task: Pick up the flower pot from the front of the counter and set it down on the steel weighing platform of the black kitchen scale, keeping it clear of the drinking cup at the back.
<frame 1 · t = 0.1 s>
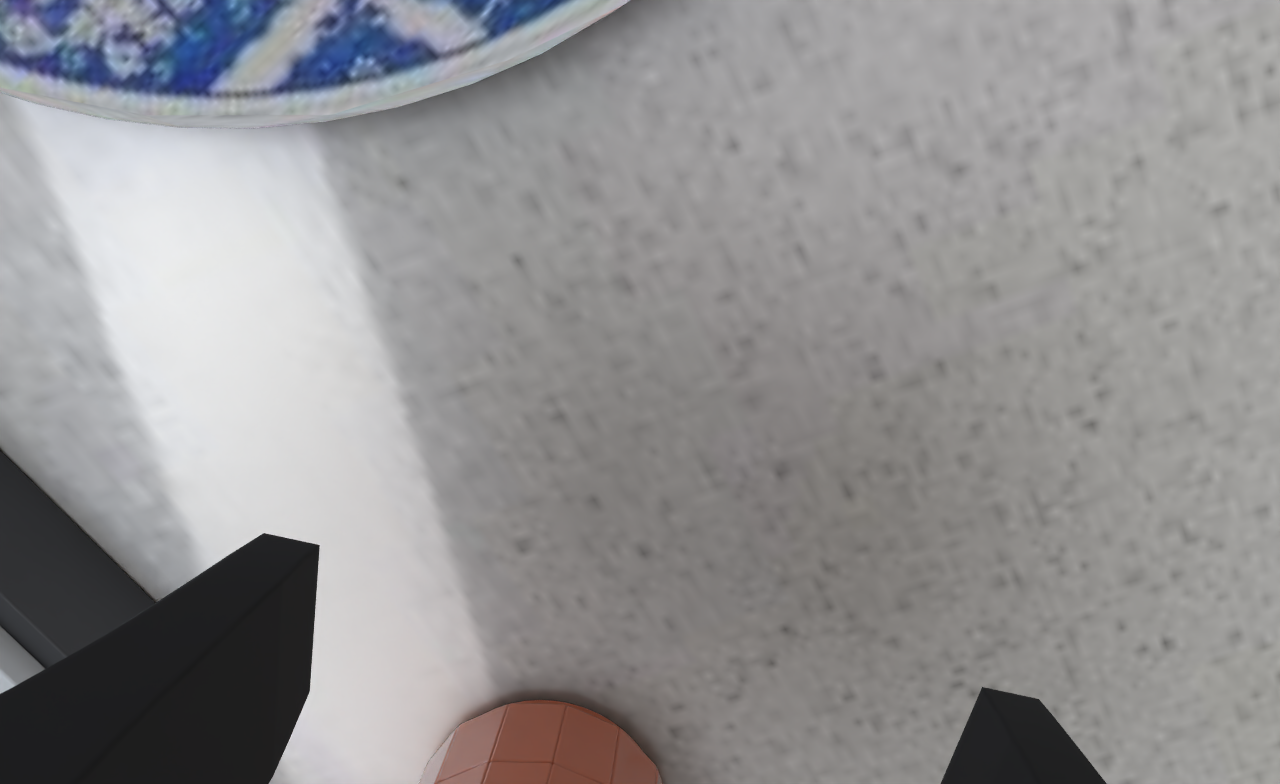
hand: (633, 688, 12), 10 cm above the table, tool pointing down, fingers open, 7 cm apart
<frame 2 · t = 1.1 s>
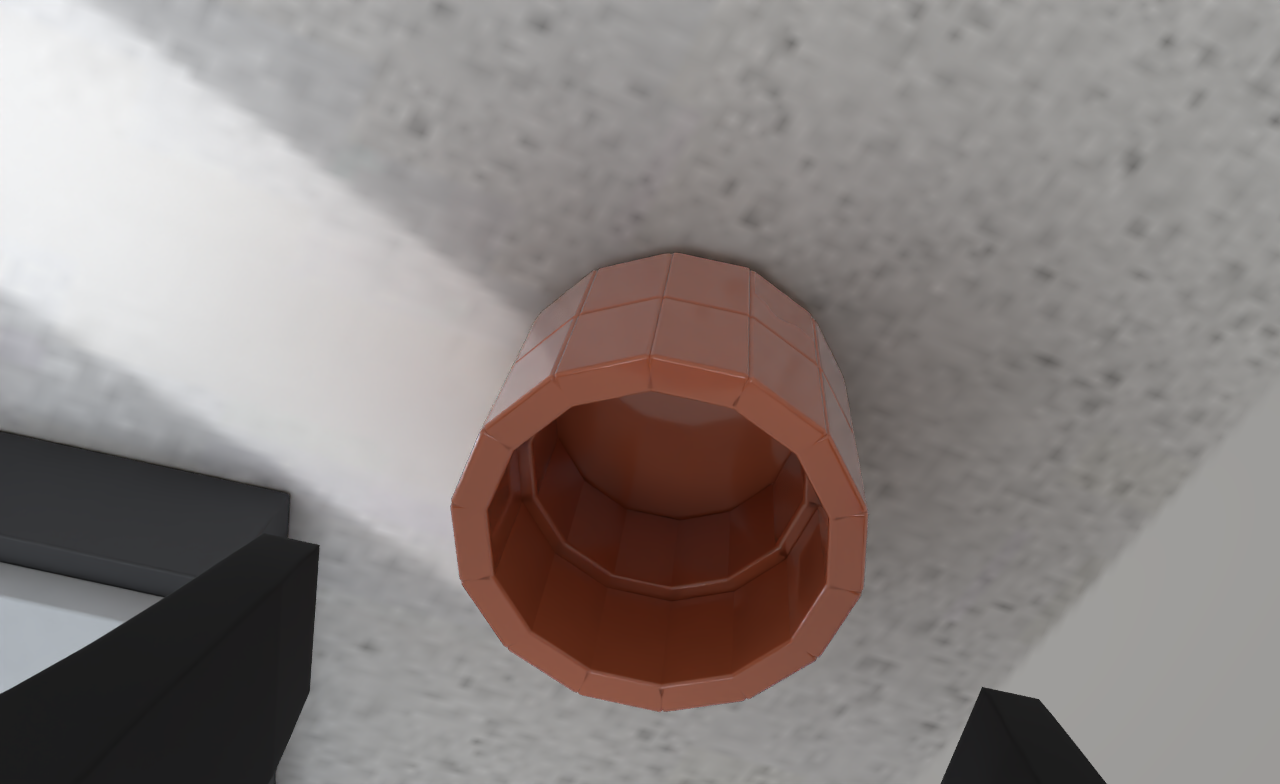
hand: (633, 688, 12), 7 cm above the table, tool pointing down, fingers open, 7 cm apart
flower pot: (678, 399, 18), on the table
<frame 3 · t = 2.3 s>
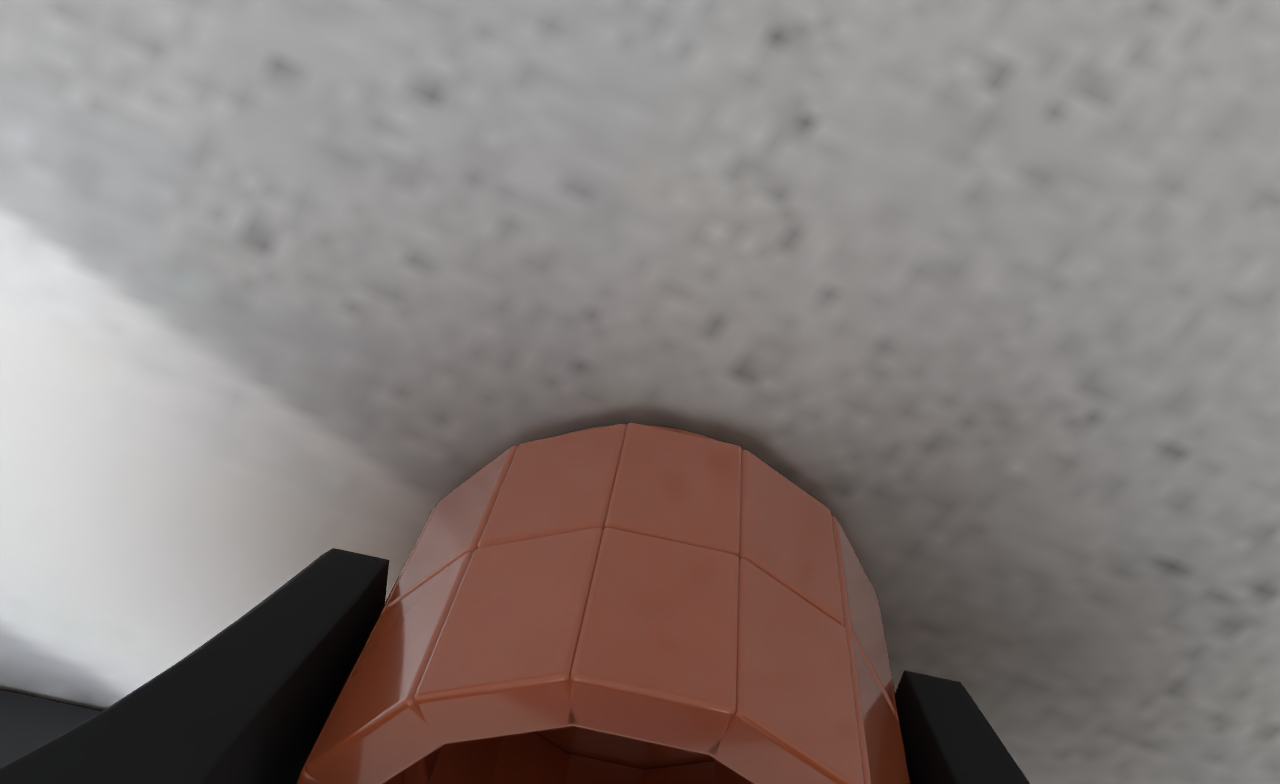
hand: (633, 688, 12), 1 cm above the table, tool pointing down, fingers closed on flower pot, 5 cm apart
flower pot: (641, 607, 13), on the table, touching gripper
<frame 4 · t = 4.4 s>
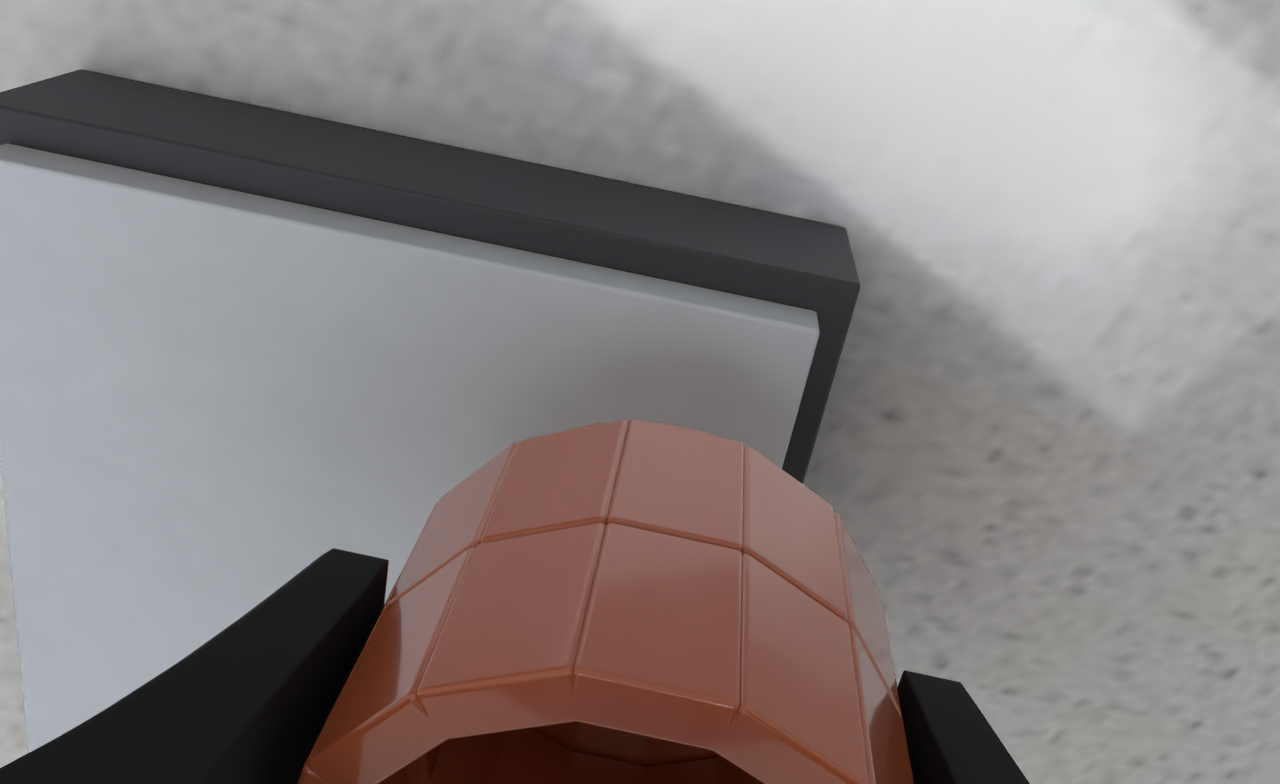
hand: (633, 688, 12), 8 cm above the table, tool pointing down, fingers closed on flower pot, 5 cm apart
scale: (425, 479, 21), on the table
flower pot: (643, 604, 13), point 7 cm above the table, touching gripper
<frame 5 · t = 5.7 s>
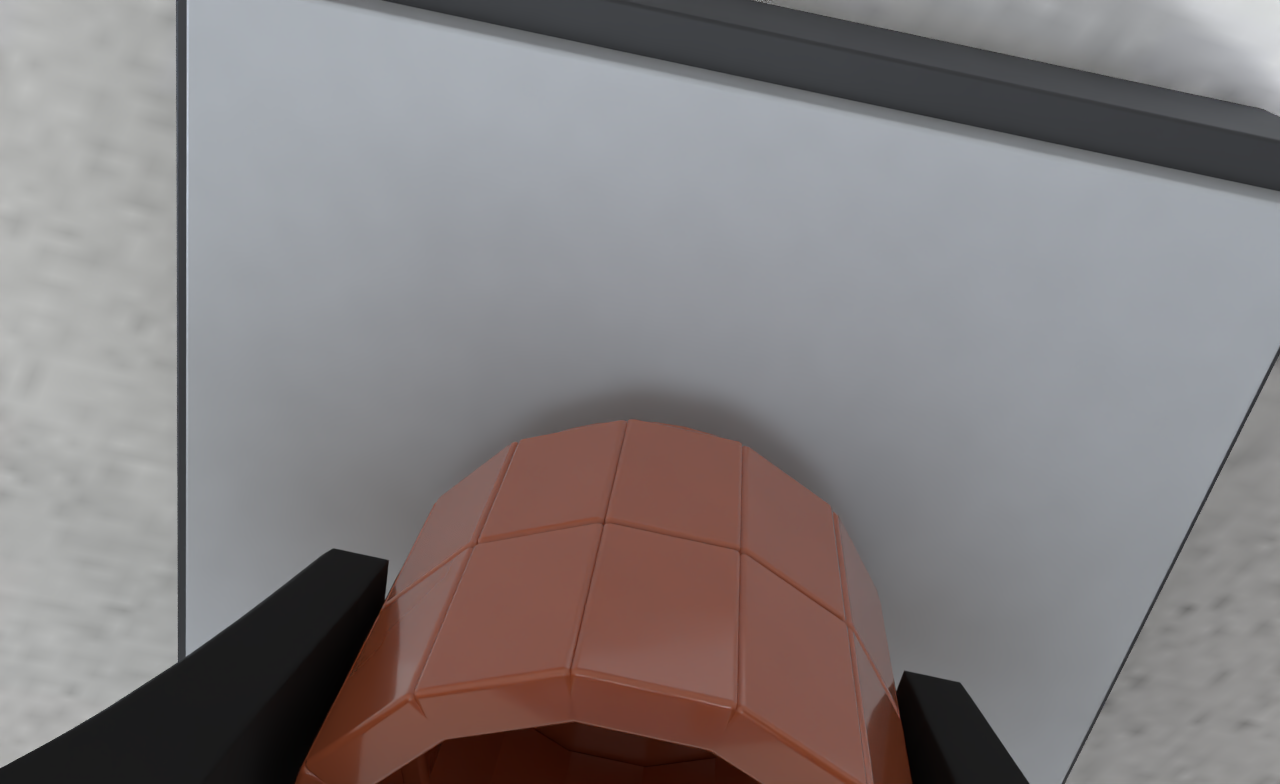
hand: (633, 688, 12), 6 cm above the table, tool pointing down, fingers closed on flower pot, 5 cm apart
scale: (670, 437, 17), on the table
flower pot: (641, 604, 13), point 4 cm above the table, touching gripper
when the fingers open (5 cm above the table, at t = 6.5 s): flower pot stays where it is, resting on scale.
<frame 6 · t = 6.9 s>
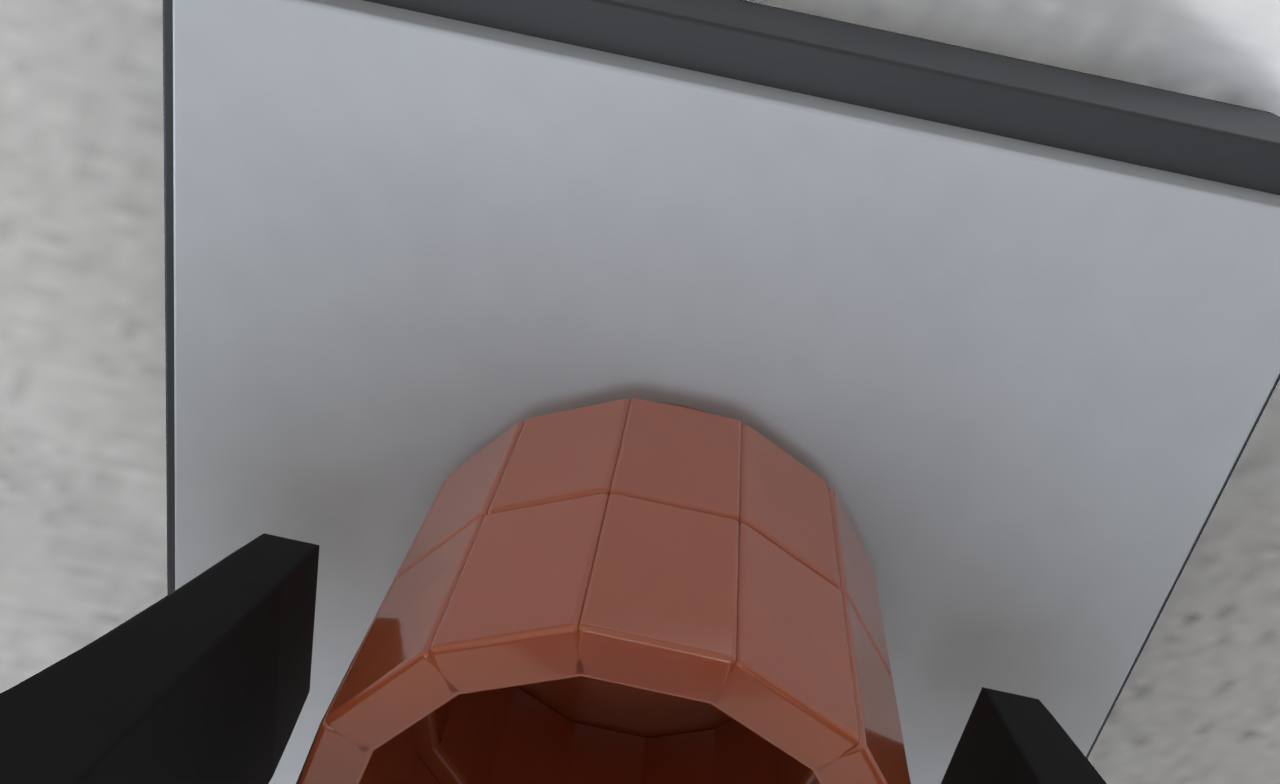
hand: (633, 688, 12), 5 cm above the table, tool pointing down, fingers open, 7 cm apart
scale: (668, 445, 17), on the table
flower pot: (644, 579, 13), point 4 cm above the table, touching scale
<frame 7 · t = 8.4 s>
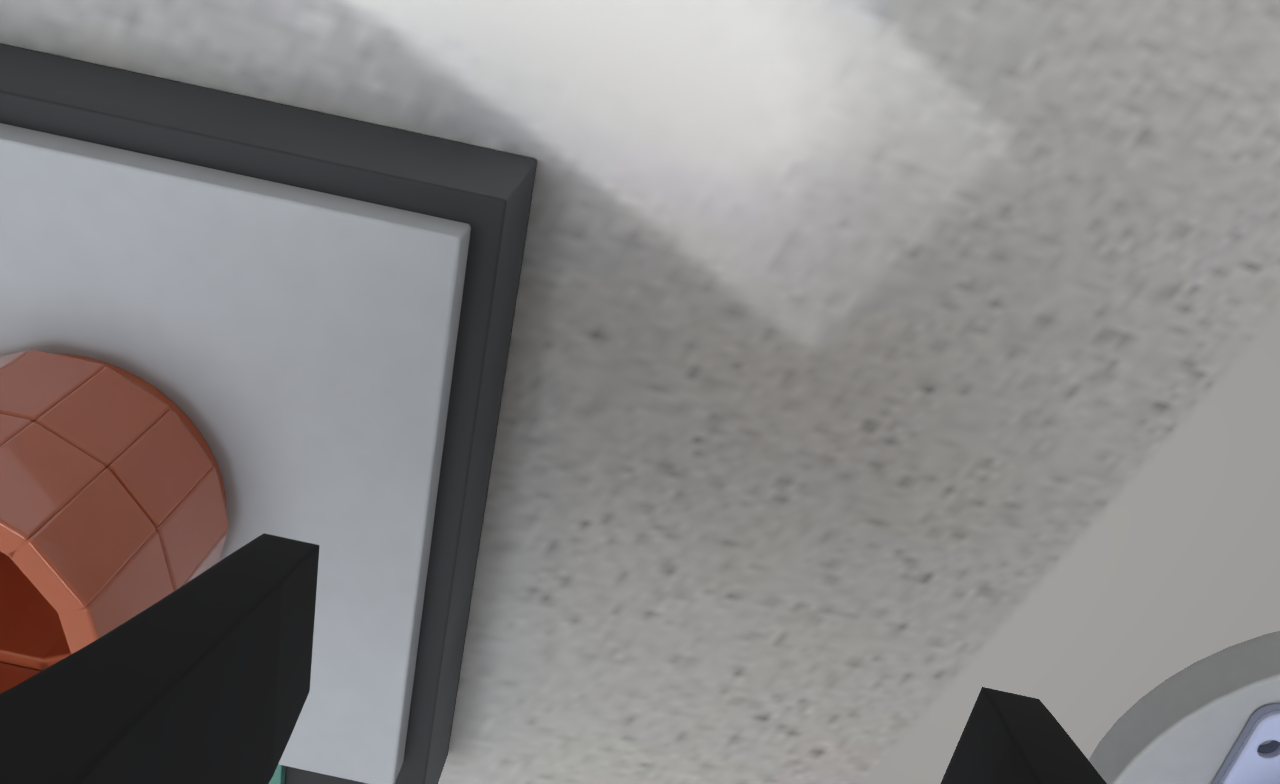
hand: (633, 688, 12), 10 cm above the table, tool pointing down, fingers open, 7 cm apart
scale: (189, 394, 23), on the table
flower pot: (92, 478, 19), point 4 cm above the table, touching scale
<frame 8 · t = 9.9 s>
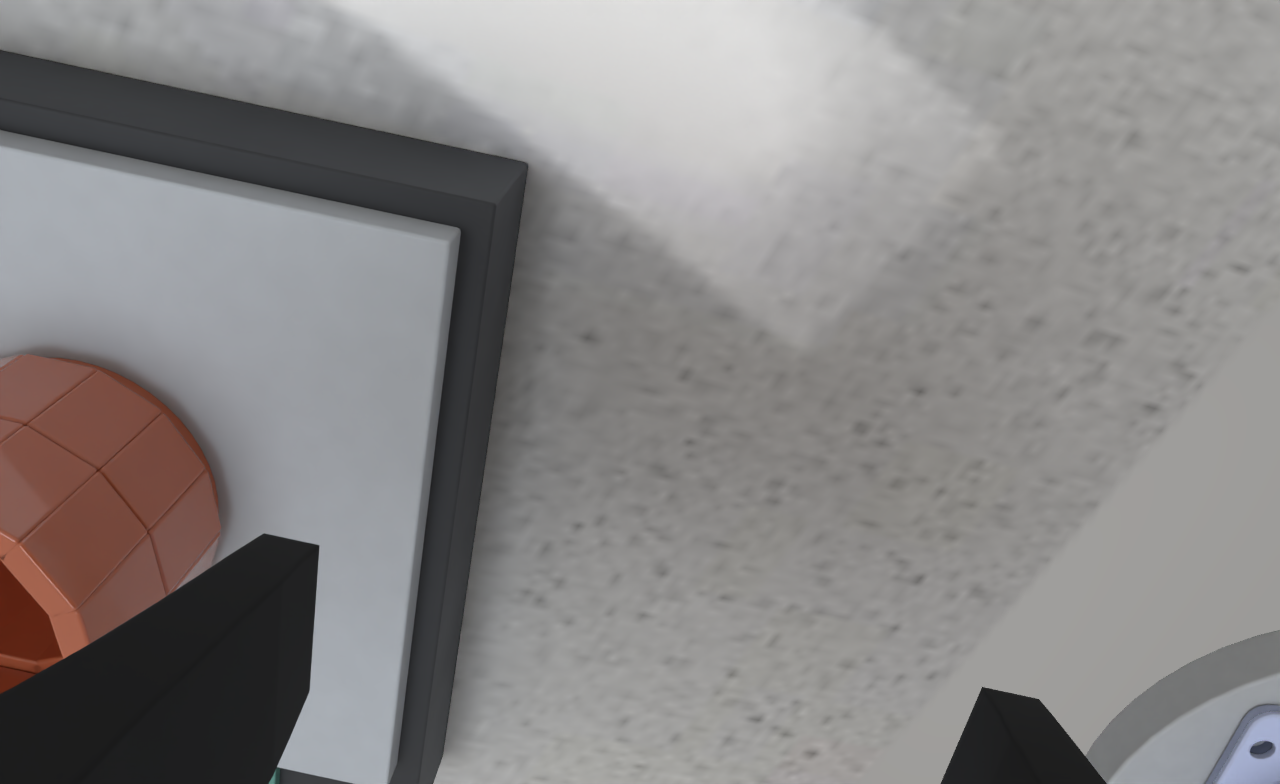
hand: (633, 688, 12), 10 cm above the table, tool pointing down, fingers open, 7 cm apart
scale: (183, 398, 23), on the table
flower pot: (86, 481, 19), point 4 cm above the table, touching scale
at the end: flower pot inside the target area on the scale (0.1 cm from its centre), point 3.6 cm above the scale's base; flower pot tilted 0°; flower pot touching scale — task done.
